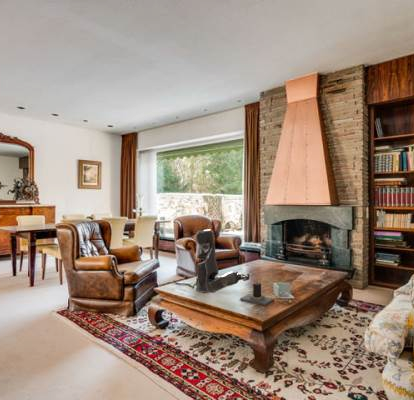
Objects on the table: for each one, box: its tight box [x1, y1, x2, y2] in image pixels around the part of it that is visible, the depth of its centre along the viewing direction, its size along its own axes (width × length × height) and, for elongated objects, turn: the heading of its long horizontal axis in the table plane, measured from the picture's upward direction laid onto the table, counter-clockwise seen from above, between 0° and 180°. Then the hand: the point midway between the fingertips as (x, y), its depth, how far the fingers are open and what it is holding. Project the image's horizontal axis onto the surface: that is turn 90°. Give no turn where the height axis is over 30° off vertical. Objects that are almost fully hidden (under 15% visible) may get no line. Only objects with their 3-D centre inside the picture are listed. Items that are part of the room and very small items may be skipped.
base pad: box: [240, 293, 275, 307], centre depth 213 cm, size 18×14×3 cm
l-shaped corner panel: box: [273, 282, 296, 299], centre depth 224 cm, size 12×12×8 cm
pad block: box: [252, 282, 262, 298], centre depth 213 cm, size 4×5×10 cm
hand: (243, 274), depth 204 cm, fingers open, 8 cm apart
